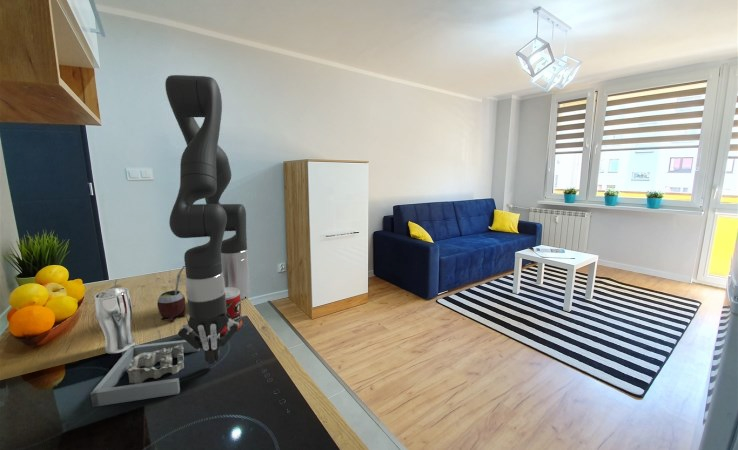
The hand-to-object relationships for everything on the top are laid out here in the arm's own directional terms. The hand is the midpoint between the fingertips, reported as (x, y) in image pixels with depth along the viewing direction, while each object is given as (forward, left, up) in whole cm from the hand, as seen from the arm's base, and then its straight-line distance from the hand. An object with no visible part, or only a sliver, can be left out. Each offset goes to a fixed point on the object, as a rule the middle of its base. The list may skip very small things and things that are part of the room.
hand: (213, 361), depth 71 cm
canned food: (-18, 0, -2) cm, 18 cm away
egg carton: (-2, -12, -2) cm, 13 cm away
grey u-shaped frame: (-1, -12, -2) cm, 12 cm away
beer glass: (-14, -25, -2) cm, 29 cm away
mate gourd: (-28, -17, -2) cm, 33 cm away
